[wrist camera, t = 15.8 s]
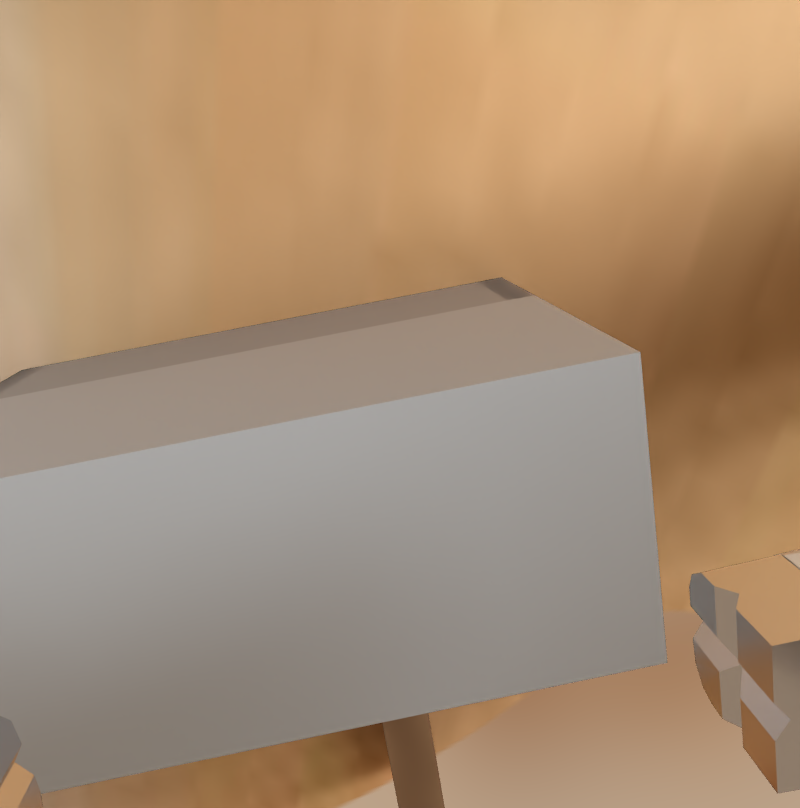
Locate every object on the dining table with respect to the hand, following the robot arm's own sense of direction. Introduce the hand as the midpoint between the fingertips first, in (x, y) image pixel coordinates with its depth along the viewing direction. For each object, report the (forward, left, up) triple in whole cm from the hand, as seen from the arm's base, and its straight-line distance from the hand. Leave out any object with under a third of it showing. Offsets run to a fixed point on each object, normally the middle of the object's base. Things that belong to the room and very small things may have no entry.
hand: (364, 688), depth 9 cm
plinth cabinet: (+4, +6, -29) cm, 30 cm away
